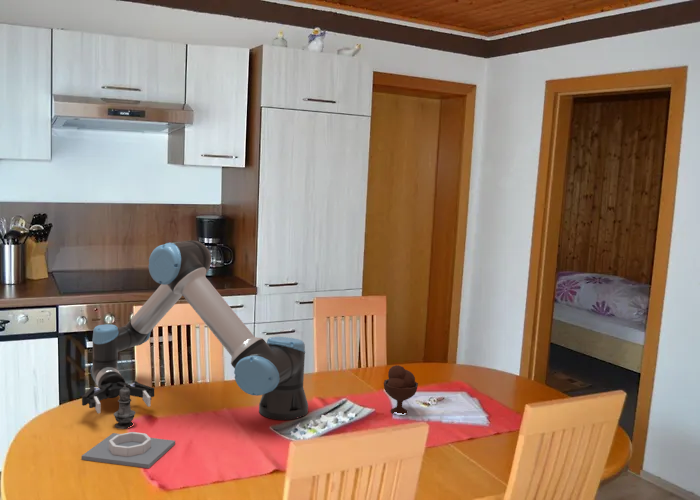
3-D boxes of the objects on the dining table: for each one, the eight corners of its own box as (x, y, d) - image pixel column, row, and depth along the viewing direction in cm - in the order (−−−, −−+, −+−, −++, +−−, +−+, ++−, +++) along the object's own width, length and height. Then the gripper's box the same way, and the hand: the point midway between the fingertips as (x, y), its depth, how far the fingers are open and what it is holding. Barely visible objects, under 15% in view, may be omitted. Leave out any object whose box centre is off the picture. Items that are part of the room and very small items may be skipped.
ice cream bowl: (393, 420, 201) (396, 372, 199) (375, 408, 211) (378, 362, 209) (423, 416, 206) (426, 369, 204) (404, 404, 215) (406, 359, 214)
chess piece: (128, 430, 184) (128, 389, 182) (109, 428, 185) (109, 386, 184) (139, 423, 190) (139, 382, 188) (120, 420, 191) (121, 380, 189)
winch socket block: (175, 444, 176) (175, 432, 176) (148, 468, 162) (148, 455, 161) (113, 436, 179) (113, 425, 179) (81, 459, 165) (81, 447, 164)
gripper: (151, 389, 210) (168, 411, 192) (67, 399, 198) (77, 424, 180) (151, 366, 209) (169, 387, 191) (67, 375, 197) (77, 398, 179)
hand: (124, 405), depth 185 cm, fingers open, 13 cm apart
